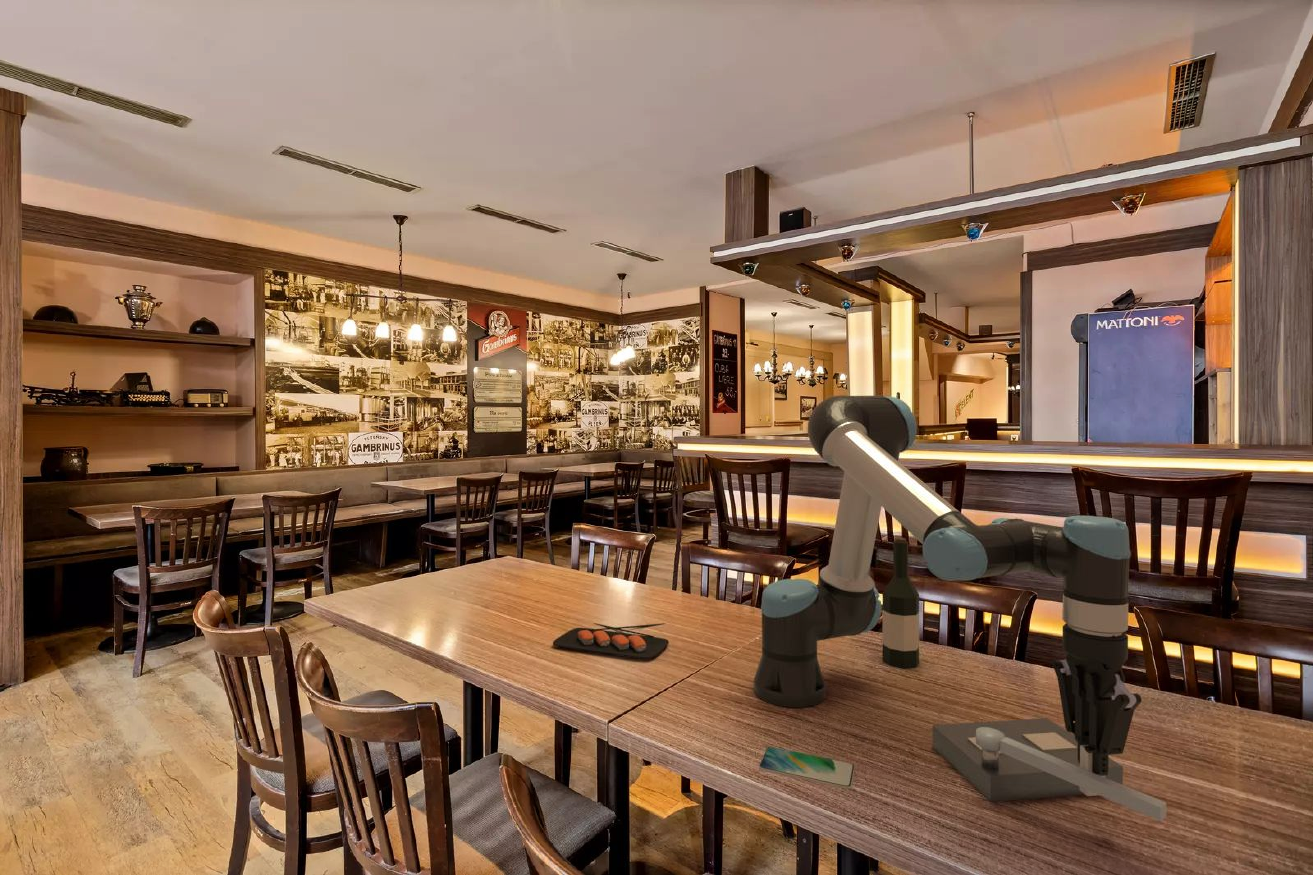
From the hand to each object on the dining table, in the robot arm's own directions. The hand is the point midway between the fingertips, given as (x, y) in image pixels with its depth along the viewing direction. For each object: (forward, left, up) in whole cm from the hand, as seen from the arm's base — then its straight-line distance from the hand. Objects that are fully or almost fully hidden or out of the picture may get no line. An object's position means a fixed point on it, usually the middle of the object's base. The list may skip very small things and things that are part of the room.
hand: (1092, 792), depth 87 cm
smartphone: (-35, +20, -6) cm, 40 cm away
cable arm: (-4, +2, +2) cm, 4 cm away
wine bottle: (+4, +61, -6) cm, 62 cm away
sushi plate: (-62, +88, -6) cm, 108 cm away
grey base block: (+1, +15, -5) cm, 16 cm away
